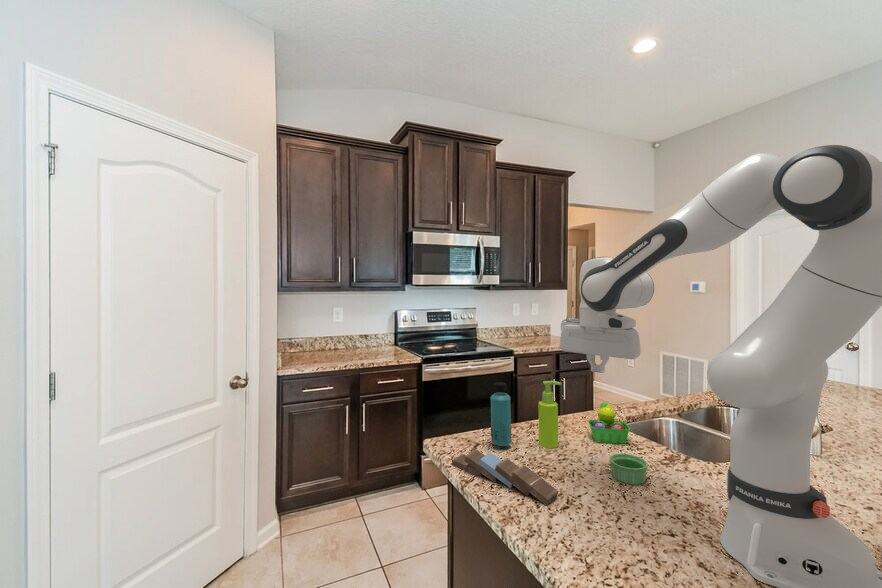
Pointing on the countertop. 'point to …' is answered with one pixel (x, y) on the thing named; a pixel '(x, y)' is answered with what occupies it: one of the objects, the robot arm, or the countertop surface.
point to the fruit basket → (608, 426)
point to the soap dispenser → (548, 417)
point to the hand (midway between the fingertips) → (597, 372)
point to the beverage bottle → (500, 416)
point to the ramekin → (628, 468)
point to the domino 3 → (493, 467)
